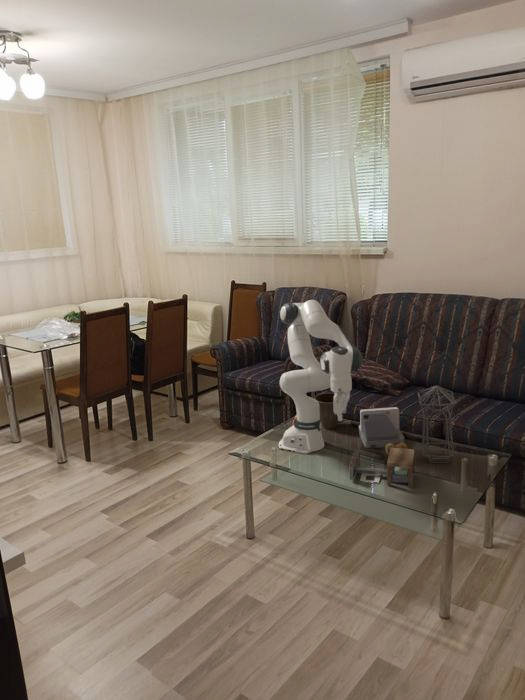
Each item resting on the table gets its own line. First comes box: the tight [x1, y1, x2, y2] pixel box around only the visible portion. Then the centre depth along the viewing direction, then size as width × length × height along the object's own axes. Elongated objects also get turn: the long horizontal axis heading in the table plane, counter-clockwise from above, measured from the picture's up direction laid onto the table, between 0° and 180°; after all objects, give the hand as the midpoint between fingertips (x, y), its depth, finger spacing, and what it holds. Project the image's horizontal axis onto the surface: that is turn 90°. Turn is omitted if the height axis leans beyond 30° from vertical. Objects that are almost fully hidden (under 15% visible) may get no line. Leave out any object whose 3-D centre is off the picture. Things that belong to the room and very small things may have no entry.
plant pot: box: [314, 392, 340, 430], centre depth 294 cm, size 15×15×16 cm
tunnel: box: [386, 448, 415, 489], centre depth 237 cm, size 10×14×10 cm
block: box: [394, 467, 408, 476], centre depth 237 cm, size 5×5×5 cm
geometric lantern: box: [416, 384, 458, 464], centre depth 248 cm, size 16×16×35 cm
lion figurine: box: [384, 442, 409, 456], centre depth 255 cm, size 15×5×9 cm, turn 127°
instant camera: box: [358, 406, 405, 449], centre depth 275 cm, size 21×21×15 cm
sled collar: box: [348, 450, 408, 484], centre depth 239 cm, size 25×14×8 cm, turn 72°
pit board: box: [359, 467, 382, 484], centre depth 242 cm, size 8×12×1 cm, turn 162°
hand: (342, 416), depth 240 cm, fingers open, 8 cm apart
